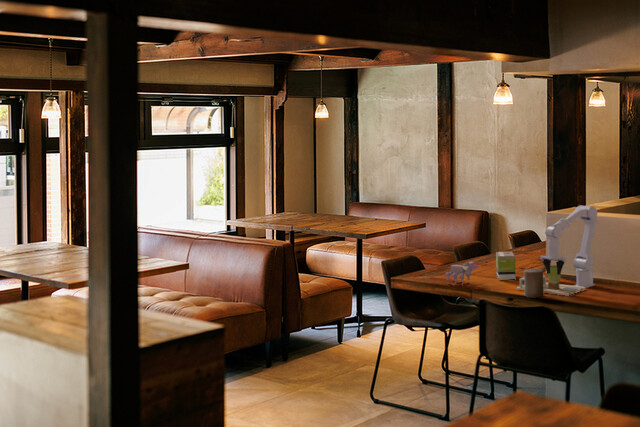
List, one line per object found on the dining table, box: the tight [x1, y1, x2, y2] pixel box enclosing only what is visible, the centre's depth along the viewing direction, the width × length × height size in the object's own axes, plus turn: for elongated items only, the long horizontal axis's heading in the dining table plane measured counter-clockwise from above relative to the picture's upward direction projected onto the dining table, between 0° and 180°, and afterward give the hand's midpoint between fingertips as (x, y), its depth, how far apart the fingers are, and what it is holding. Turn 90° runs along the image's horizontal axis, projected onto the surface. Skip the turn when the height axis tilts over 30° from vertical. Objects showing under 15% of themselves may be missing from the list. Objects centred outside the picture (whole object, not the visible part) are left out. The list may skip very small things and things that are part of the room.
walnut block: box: [547, 281, 560, 290], centre depth 427 cm, size 4×4×5 cm
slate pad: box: [560, 287, 578, 292], centre depth 422 cm, size 7×7×1 cm
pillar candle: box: [523, 267, 544, 299], centre depth 417 cm, size 10×10×15 cm
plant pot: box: [547, 264, 562, 283], centre depth 452 cm, size 9×9×9 cm
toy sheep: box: [445, 261, 479, 283], centre depth 454 cm, size 20×11×14 cm, turn 48°
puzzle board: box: [516, 282, 586, 297], centre depth 431 cm, size 20×30×2 cm, turn 46°
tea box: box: [495, 251, 517, 281], centre depth 467 cm, size 15×10×15 cm
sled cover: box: [518, 275, 547, 287], centre depth 435 cm, size 14×8×6 cm, turn 136°
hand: (553, 273), depth 426 cm, fingers open, 5 cm apart
